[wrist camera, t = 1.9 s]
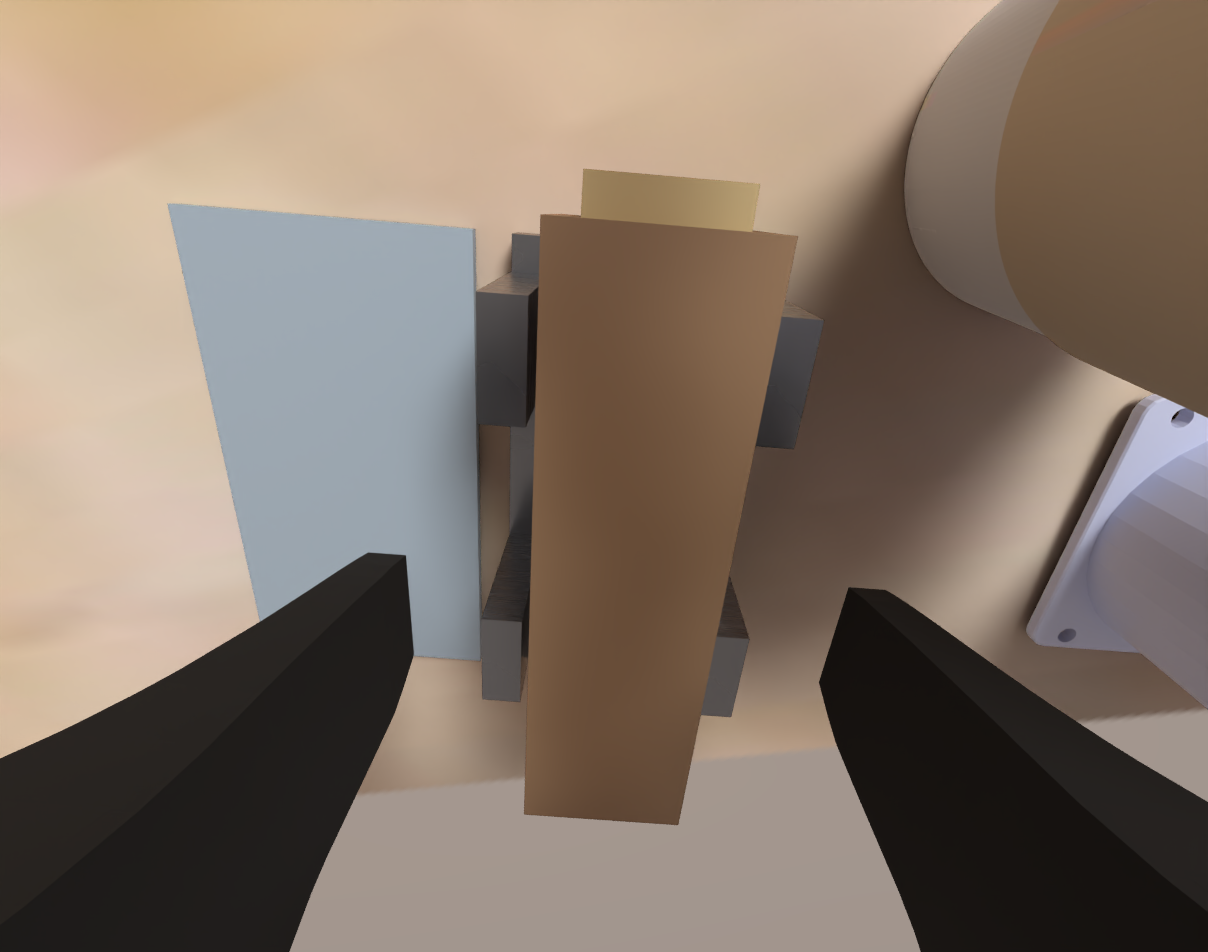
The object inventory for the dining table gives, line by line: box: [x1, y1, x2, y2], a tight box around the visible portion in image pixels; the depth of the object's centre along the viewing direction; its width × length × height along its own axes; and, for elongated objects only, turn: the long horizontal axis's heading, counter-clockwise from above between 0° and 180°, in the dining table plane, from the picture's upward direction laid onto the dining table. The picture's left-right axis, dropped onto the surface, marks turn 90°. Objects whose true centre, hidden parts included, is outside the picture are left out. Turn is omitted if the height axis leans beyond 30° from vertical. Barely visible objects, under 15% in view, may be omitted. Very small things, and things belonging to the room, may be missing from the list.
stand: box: [476, 233, 824, 717], centre depth 14 cm, size 6×11×4 cm, turn 176°
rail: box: [524, 169, 798, 825], centre depth 12 cm, size 3×13×3 cm, turn 176°
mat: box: [168, 204, 482, 661], centre depth 16 cm, size 7×13×1 cm, turn 176°
